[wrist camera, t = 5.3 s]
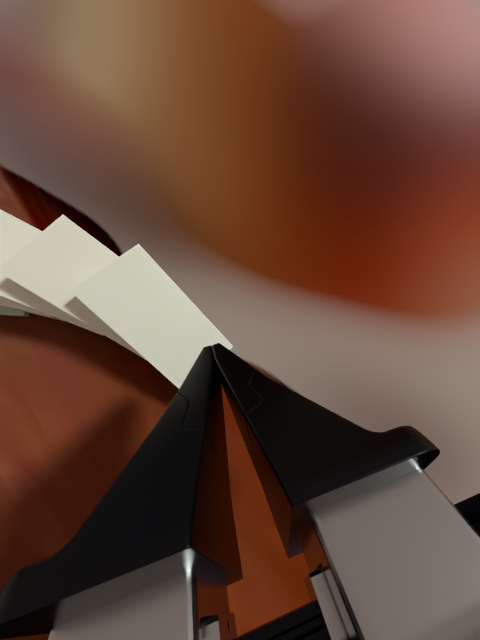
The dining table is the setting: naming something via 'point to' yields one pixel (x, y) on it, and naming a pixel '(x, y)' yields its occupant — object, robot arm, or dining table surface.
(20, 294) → the domino
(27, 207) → the dining table surface
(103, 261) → the domino
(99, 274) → the domino
